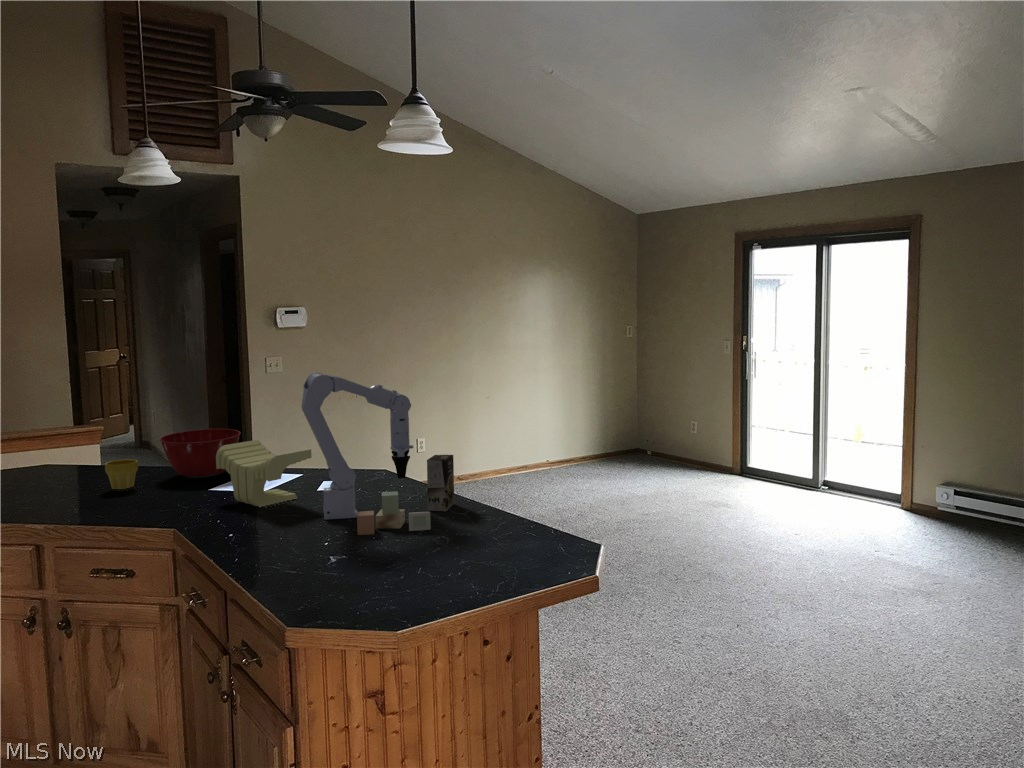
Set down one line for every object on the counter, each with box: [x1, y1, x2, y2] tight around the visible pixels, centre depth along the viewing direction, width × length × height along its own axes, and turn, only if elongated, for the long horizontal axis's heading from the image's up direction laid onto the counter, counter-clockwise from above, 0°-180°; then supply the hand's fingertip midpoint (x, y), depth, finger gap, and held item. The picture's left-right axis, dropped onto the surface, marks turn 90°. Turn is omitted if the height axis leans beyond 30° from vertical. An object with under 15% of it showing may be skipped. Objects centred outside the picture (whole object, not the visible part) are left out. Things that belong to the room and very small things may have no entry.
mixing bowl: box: [159, 428, 241, 477], centre depth 299 cm, size 28×28×16 cm
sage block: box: [381, 490, 399, 515], centre depth 230 cm, size 5×5×6 cm
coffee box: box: [426, 454, 455, 512], centre depth 248 cm, size 9×6×16 cm
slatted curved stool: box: [216, 439, 312, 508], centre depth 258 cm, size 30×16×18 cm, turn 50°
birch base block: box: [375, 508, 406, 529], centre depth 230 cm, size 7×7×4 cm
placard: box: [408, 511, 432, 532], centre depth 224 cm, size 6×1×5 cm, turn 100°
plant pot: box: [104, 459, 139, 490], centre depth 278 cm, size 10×10×10 cm
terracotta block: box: [356, 510, 375, 536], centre depth 223 cm, size 5×5×6 cm
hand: (401, 475), depth 247 cm, fingers open, 7 cm apart
